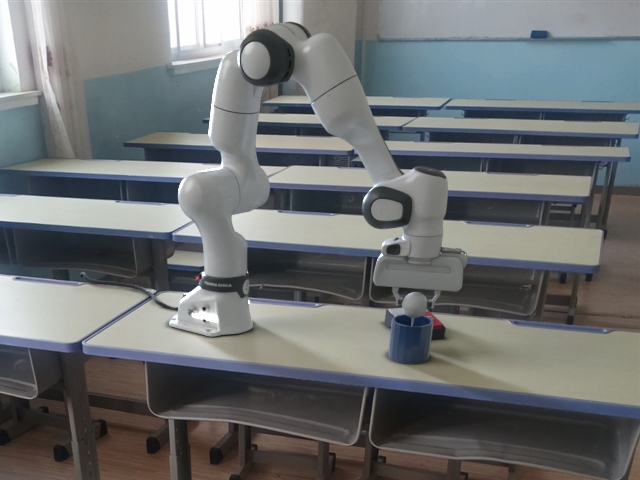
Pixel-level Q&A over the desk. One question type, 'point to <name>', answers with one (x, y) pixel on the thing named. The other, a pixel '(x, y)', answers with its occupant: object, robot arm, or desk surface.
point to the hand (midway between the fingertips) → (414, 306)
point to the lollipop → (414, 305)
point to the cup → (410, 339)
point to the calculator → (437, 325)
